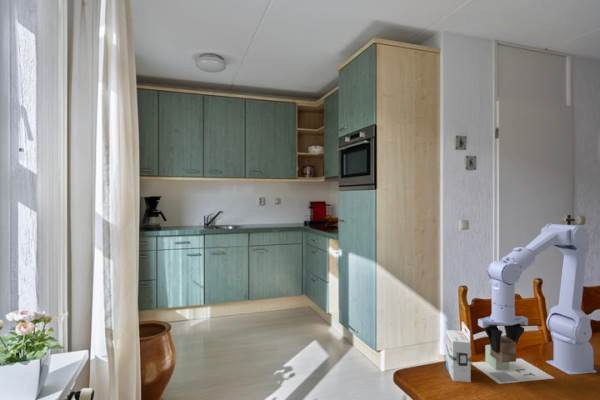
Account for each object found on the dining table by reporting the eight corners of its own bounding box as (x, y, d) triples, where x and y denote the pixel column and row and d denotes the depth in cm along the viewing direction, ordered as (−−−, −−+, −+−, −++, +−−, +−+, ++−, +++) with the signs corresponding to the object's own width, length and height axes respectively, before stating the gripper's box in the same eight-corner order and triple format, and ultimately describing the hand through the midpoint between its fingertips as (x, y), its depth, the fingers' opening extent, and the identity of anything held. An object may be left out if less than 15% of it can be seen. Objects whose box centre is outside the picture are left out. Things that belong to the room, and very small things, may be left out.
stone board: (520, 359, 106) (520, 358, 106) (555, 379, 94) (555, 378, 94) (470, 364, 103) (470, 362, 103) (498, 385, 91) (498, 383, 91)
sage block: (498, 361, 104) (498, 344, 104) (509, 368, 99) (509, 350, 99) (485, 362, 103) (485, 345, 103) (496, 369, 99) (496, 351, 99)
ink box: (445, 367, 101) (445, 319, 101) (462, 368, 100) (462, 320, 100) (452, 382, 93) (452, 330, 93) (471, 384, 92) (471, 331, 92)
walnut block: (503, 354, 98) (503, 335, 98) (516, 361, 93) (516, 342, 93) (490, 355, 97) (490, 336, 97) (501, 362, 92) (501, 343, 92)
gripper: (514, 298, 100) (514, 342, 100) (470, 300, 98) (471, 346, 98) (534, 305, 93) (534, 353, 93) (487, 308, 91) (488, 357, 91)
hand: (503, 350), depth 95 cm, fingers closed on walnut block, 4 cm apart
